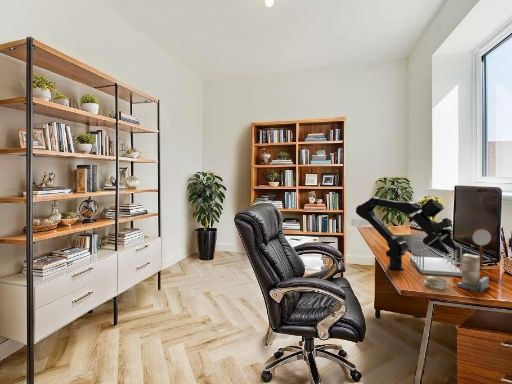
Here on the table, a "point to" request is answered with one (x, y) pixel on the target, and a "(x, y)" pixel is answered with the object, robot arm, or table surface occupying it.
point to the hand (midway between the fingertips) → (452, 251)
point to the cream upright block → (470, 269)
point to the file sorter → (435, 261)
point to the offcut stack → (435, 282)
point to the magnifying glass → (481, 240)
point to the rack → (480, 287)
